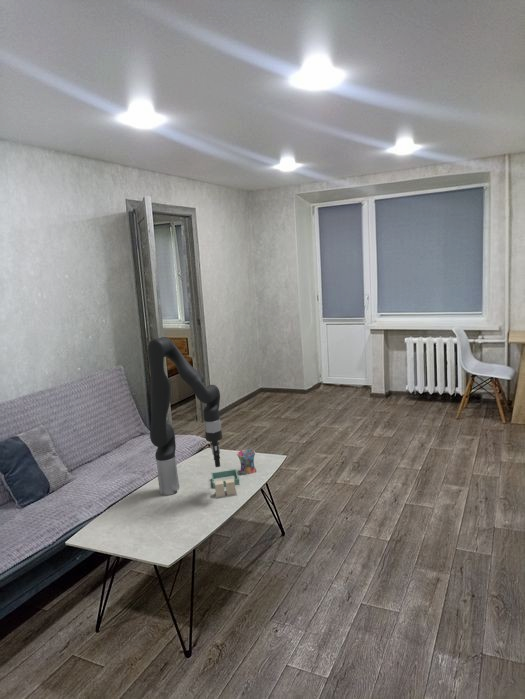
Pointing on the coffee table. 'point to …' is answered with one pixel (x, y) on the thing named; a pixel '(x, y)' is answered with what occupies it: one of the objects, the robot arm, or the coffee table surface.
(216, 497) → the slate board
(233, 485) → the stone right
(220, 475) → the green bin
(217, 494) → the block
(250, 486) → the coffee table surface
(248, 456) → the floral patterned vase
